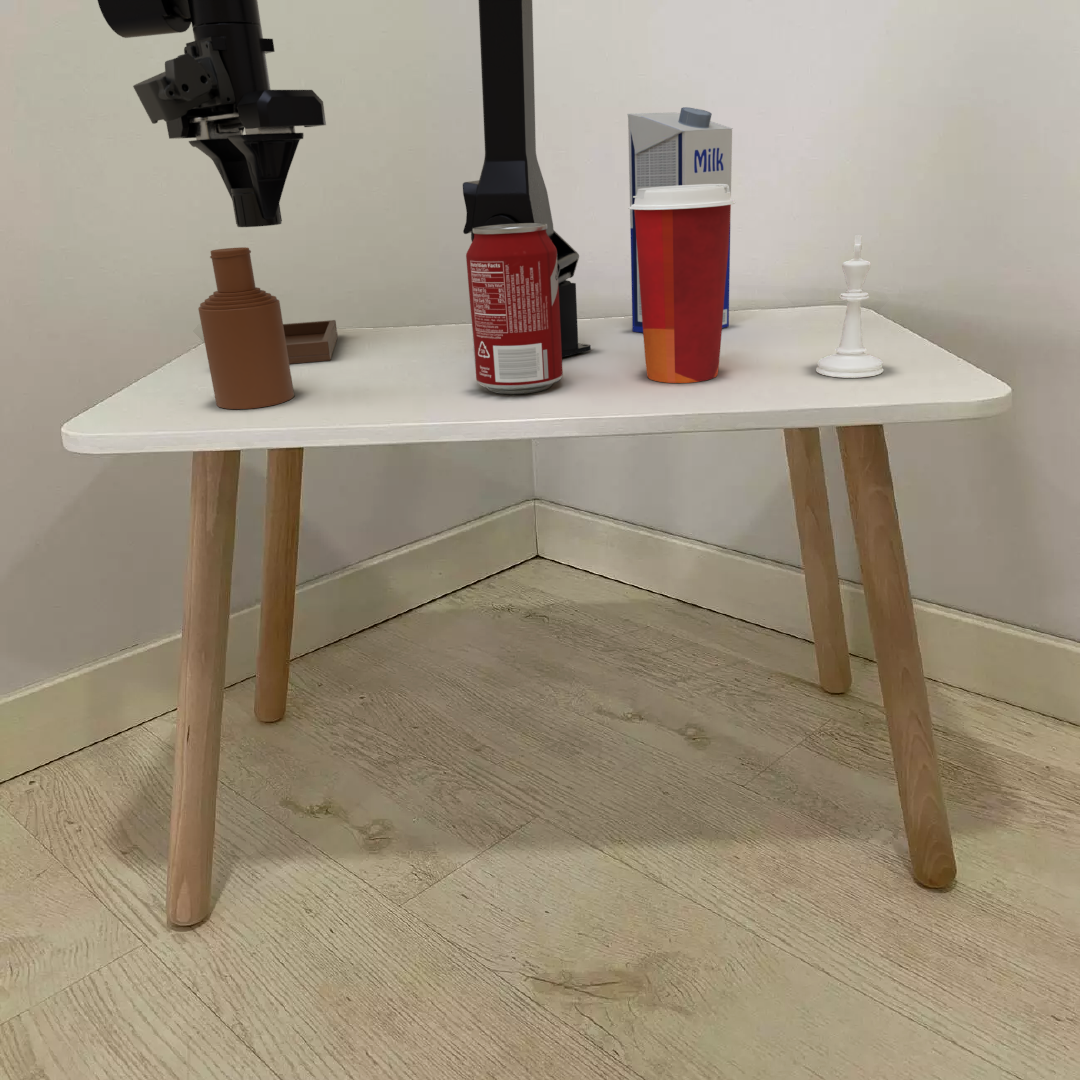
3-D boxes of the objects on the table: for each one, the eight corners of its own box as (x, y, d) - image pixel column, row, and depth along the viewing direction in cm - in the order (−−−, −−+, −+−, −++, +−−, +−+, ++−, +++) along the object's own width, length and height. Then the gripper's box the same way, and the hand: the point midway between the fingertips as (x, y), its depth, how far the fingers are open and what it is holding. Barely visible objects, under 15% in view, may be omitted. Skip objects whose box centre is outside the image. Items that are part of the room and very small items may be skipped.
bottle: (308, 397, 75) (285, 246, 71) (238, 413, 71) (209, 254, 67) (271, 387, 79) (247, 244, 75) (203, 402, 76) (174, 252, 71)
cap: (272, 225, 86) (266, 186, 84) (230, 228, 86) (223, 189, 85) (288, 222, 89) (282, 185, 88) (247, 224, 90) (241, 187, 89)
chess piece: (812, 377, 72) (819, 239, 68) (819, 363, 76) (827, 232, 72) (881, 378, 70) (892, 237, 66) (885, 364, 74) (896, 231, 70)
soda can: (554, 397, 70) (545, 227, 66) (466, 397, 72) (452, 231, 67) (569, 376, 77) (563, 220, 72) (489, 377, 78) (477, 224, 74)
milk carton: (677, 320, 98) (676, 109, 91) (730, 326, 94) (734, 104, 86) (630, 331, 94) (626, 111, 86) (683, 338, 89) (683, 105, 82)
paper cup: (738, 365, 77) (742, 181, 72) (723, 387, 70) (726, 186, 65) (644, 364, 80) (641, 186, 74) (621, 385, 73) (616, 191, 68)
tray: (330, 360, 89) (327, 341, 88) (218, 369, 88) (215, 350, 87) (337, 336, 101) (335, 319, 100) (239, 344, 100) (236, 327, 99)
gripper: (92, 38, 83) (131, 225, 89) (184, 6, 70) (222, 227, 76) (211, 42, 90) (240, 215, 96) (315, 14, 77) (341, 216, 83)
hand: (257, 218), depth 87 cm, fingers closed on cap, 4 cm apart
